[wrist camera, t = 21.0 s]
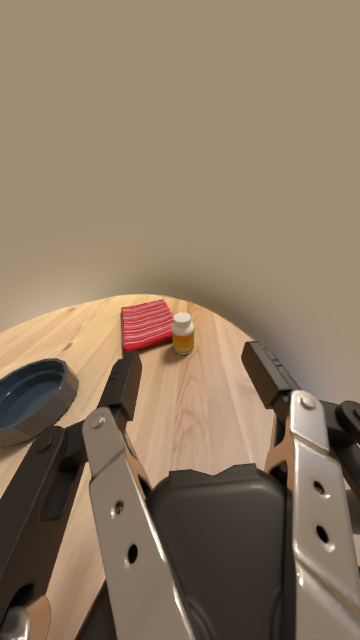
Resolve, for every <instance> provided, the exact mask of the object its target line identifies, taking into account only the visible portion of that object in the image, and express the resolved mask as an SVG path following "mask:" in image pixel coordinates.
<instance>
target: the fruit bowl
mask: <svg viewBox="0 0 360 640" xmlns="http://www.w3.org/2000/svg"><path fill="white" fill-rule="evenodd" d="M78 384H79V380H78V378H77V376H76V374H75V373H74V372H73V370H72V369H71V368H70V367H69V366H68V364H67V363H66V362H65V361H62V360H60V359H57V358H53V359H43V360H39V361H36V362H33V363H30V364H27V365H25V366H23V367H21V368H19V369H17V370H15V371H13V372H11V373H9V374H8V375H6V376H5V377H3V378H2V379H0V447H7V446H14V445H17V444H19V443H22V442H24V441H26V440H29V439H31V438H33V437H35V436H36V435H38V434H39V433H41V432H42V431H43V430H45V429H46V428H48V427H49V426H50V425H52V424H53V423H54V422H55V421H56V420H57V419H58V418H59V417H60V416H61V415H62V414H63V413H64V412H65V411H66V410H67V408H68V407H69V406H70V404H71V402H72V401H73V399H74V397H75V395H76V394H77V390H78Z"/></svg>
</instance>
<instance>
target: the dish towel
mask: <svg viewBox="0 0 360 640" xmlns="http://www.w3.org/2000/svg"><path fill="white" fill-rule="evenodd" d="M121 309H122V310H121V315H122V316H121V318H122V320H121V322H122V325H121V326H122V347H123V353H124V354H125V352H126V351H136V350H137V351H139V350H142V349H146V348H149V347H152V346H156V345H159V344H162V343H166V342H169V341H172V340H173V339H172V329H171V327H172V324H173V323H174V321H173V317H174V316H173V314H172V312H171V311H170V309H169V307H168V306H167V305H166V303H165V301H164V300H163V299H162V300H158V301H153V302H149V303H144V304H140V305H136V306H131V307H122V308H121Z"/></svg>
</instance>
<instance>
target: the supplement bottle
mask: <svg viewBox="0 0 360 640" xmlns="http://www.w3.org/2000/svg"><path fill="white" fill-rule="evenodd" d="M173 321H174V323H173V324H172V327H171V329H172V339H173V348H174V350H175V351H176V352H177V353H178V354H183V355H184V354H188V353H190V352H192V350H193V348H194V325H193V323H192V322H191V316H190V315H189V314H188V313H184V312H182V313H177V314H175V315H174V317H173Z"/></svg>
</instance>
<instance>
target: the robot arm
mask: <svg viewBox="0 0 360 640" xmlns="http://www.w3.org/2000/svg"><path fill="white" fill-rule="evenodd" d="M241 359H242V363H243V365H244V367H245V369H246V371H247V373H248V375H249V377H250V379H251V381H252V383H253V385H254V387H255V389H256V391H257V393H258V395H259V397H260V399H261V401H262V402H263V404H264V406H265V408H266V409H273V410H274V412H275V414H274V420H273V428H272V436H271V445H270V449H269V452H268V454H267V458H266V462H265V469H264V471H262V470H260V469H257V467H256V465H255V463H252V464H241V465H233V466H232V467H230V468H228V469H226V470H224V471H222V472H220V473H218V474H217V475H214V476H213V475H208V474H205V473H201V472H198V471H194V470H191V469H189V470H178V471H169V476H168V477H166V478H164V479H163V480H161V481H160V482H159V483H158V484H157V485H156V486H155V487H154V489H153V488H152V486H151V483H150V481H149V479H148V477H147V474H146V472H145V470H144V468H143V466H142V465H141V463H140V461H139V459H138V457H137V455H136V452H135V450H134V448H133V445H132V443H131V441H130V439H129V436H128V434H127V432H126V430H125V429H126V424H127V421H133V417H134V411H135V406H136V400H137V395H138V390H139V384H140V379H141V373H142V363H141V360H140V357H139V354H138V352H137V350H136V351H126V352H125V354H124V357H123V359H119V360H118V361H117V362H116V363H115V364H114V366H113V368H112V370H111V374H110V376H109V378H108V381H107V383H106V386H105V389H104V391H103V394H102V396H101V399H100V401H99V404H98V406H97V408H96V409H95V410H94V411H93V412H91V413H90V414H89V415H88V417H87V418H86V419H85V420H83V421H81V422H78V423H76V424H74V425H71V426H69V427H67V428H62V427H60V426H53V427H50V428H48V429H47V430H45V431H44V432H42V433H41V434H40V435H39V436H38V437H37V438H36V439H35V441H34V442H33V443H32V445H31V447H30V448H29V450H28V452H27V454H26V455H25V457H24V459H23V461H22V462H21V464H20V466H19V468H18V469H17V471H16V473H15V475H14V476H13V478H12V480H11V482H10V483H9V485H8V487H7V489H6V490H5V492H4V494H3V496H2V497H1V499H0V640H47V638H48V633H49V628H50V622H51V606H50V602H49V600H48V598H47V597H46V596H45V594H46V591H47V588H48V585H49V581H50V578H51V575H52V571H53V568H54V565H55V562H56V558H57V555H58V552H59V548H60V545H61V542H62V539H63V535H64V532H65V529H66V525H67V522H68V519H69V516H70V512H71V509H72V506H73V502H74V499H75V496H76V493H77V489H78V486H79V483H80V479H81V476H82V473H83V470H84V466H85V463H86V462H88V461H89V465H90V470H91V480H90V482H89V495H90V500H91V505H92V510H93V515H94V520H95V525H96V531H97V536H98V541H99V546H100V551H101V556H102V561H103V566H104V571H105V576H106V579H105V581H104V583H103V585H102V587H101V589H100V590H99V592H98V594H97V596H96V598H95V600H94V602H93V604H92V606H91V608H90V610H89V612H88V614H87V616H86V618H85V620H84V622H83V624H82V626H81V628H80V630H79V632H78V634H77V636H76V638H75V639H74V640H360V567H359V566H358V564H357V558H356V552H355V546H354V540H353V534H352V528H351V522H350V516H349V510H348V503H347V497H346V491H345V486H344V479H343V477H344V478H345V480H346V481H347V483H348V485H349V486H350V487H351V489H352V491H353V492H354V494H355V496H356V497H357V499H358V500H359V502H360V448H359V447H358V445H357V443H359V445H360V404H359V403H357V402H354V401H344V402H342V403H341V404H340V405H338V404H334V403H329V402H325V401H321V400H318V399H317V398H316V397H315V396H313V395H312V394H310V393H308V392H306V391H303V390H302V389H301V388H300V387H299V386H298V385H297V383H296V382H295V381H294V380H293V378H292V377H291V376H290V374H289V373H288V372H287V370H286V369H285V368H284V367H283V366H282V364H281V363H280V361H278V359H277V357H276V356H275V355H274V354H273V353H272V352H271V351H270V350H268V349H267V348H263V347H262V346H261V344H260V343H259V342H258V341H250V342H246V343H245V345H244V349H243V352H242V355H241ZM120 511H121V513H120Z"/></svg>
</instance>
